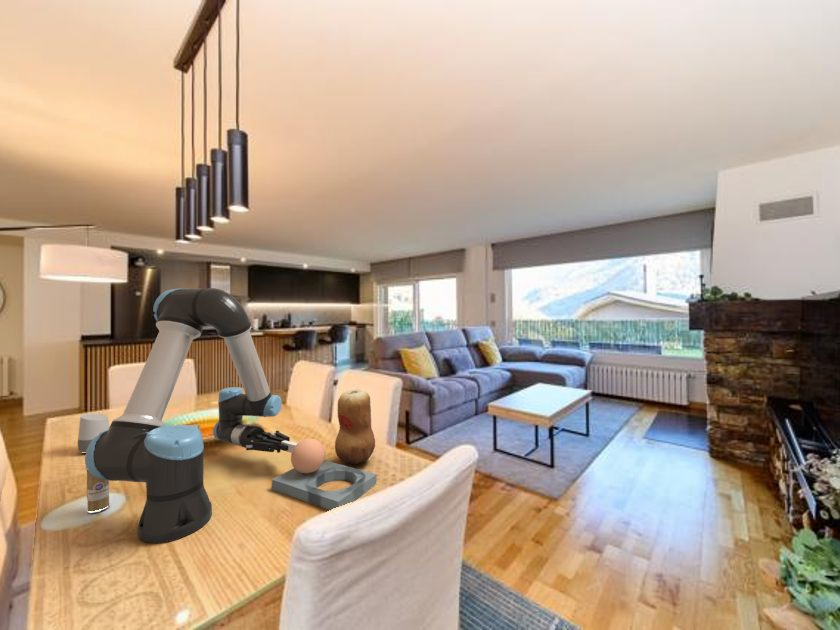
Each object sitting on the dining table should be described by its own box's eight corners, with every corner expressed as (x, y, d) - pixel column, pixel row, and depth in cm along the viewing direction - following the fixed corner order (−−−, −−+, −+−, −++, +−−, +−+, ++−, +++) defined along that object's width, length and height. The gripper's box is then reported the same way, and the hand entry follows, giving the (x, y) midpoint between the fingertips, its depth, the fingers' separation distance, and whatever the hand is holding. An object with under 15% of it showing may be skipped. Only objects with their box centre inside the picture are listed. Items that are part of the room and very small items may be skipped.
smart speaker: (106, 453, 130) (105, 415, 130) (73, 457, 126) (72, 419, 126) (115, 444, 139) (114, 409, 138) (84, 448, 135) (83, 412, 134)
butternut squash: (326, 465, 118) (325, 392, 118) (352, 451, 130) (351, 384, 130) (359, 474, 112) (359, 397, 111) (383, 458, 124) (382, 388, 123)
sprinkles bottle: (91, 516, 90) (89, 464, 90) (83, 511, 92) (82, 461, 92) (113, 507, 94) (112, 458, 94) (105, 503, 96) (104, 454, 96)
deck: (272, 489, 103) (271, 479, 103) (314, 466, 118) (314, 457, 118) (338, 513, 91) (338, 501, 91) (376, 484, 106) (376, 474, 106)
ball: (320, 479, 103) (320, 445, 103) (286, 480, 103) (285, 446, 102) (328, 464, 113) (328, 433, 113) (297, 464, 113) (296, 434, 112)
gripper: (264, 440, 128) (312, 452, 117) (231, 453, 116) (280, 468, 105) (264, 420, 128) (312, 430, 117) (230, 431, 116) (280, 444, 105)
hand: (297, 448), depth 111 cm, fingers closed
